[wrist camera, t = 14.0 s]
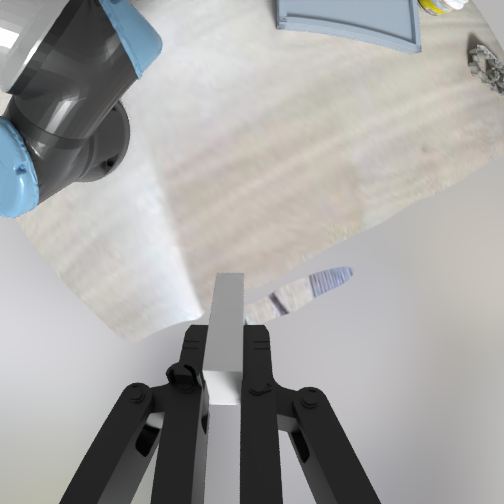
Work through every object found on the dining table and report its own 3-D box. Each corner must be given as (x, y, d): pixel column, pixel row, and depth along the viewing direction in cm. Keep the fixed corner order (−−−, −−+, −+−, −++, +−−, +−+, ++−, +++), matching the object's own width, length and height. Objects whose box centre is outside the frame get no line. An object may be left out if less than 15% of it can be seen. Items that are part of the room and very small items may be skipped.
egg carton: (464, 70, 30) (478, 70, 26) (469, 41, 26) (482, 40, 23) (495, 98, 31) (508, 100, 28) (500, 71, 28) (512, 72, 24)
